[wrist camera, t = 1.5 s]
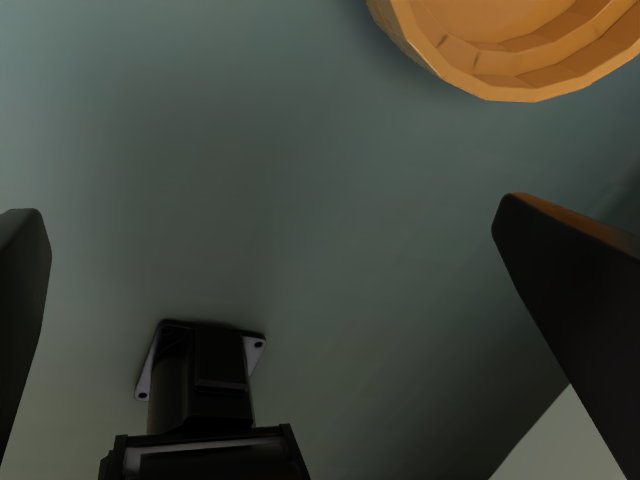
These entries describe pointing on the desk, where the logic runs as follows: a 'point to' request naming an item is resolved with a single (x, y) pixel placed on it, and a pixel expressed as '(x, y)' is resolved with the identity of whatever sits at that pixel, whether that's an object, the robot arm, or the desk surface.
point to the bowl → (513, 42)
